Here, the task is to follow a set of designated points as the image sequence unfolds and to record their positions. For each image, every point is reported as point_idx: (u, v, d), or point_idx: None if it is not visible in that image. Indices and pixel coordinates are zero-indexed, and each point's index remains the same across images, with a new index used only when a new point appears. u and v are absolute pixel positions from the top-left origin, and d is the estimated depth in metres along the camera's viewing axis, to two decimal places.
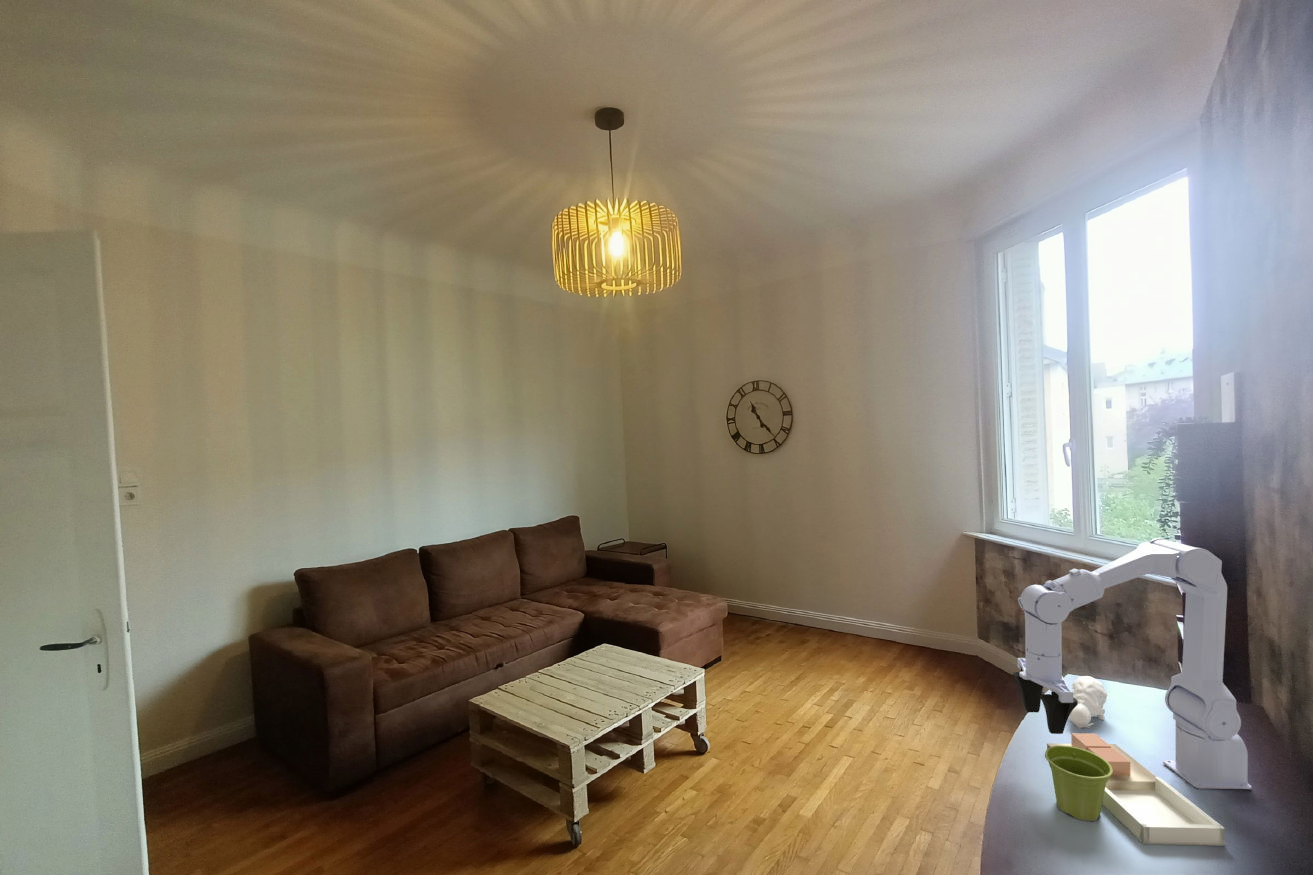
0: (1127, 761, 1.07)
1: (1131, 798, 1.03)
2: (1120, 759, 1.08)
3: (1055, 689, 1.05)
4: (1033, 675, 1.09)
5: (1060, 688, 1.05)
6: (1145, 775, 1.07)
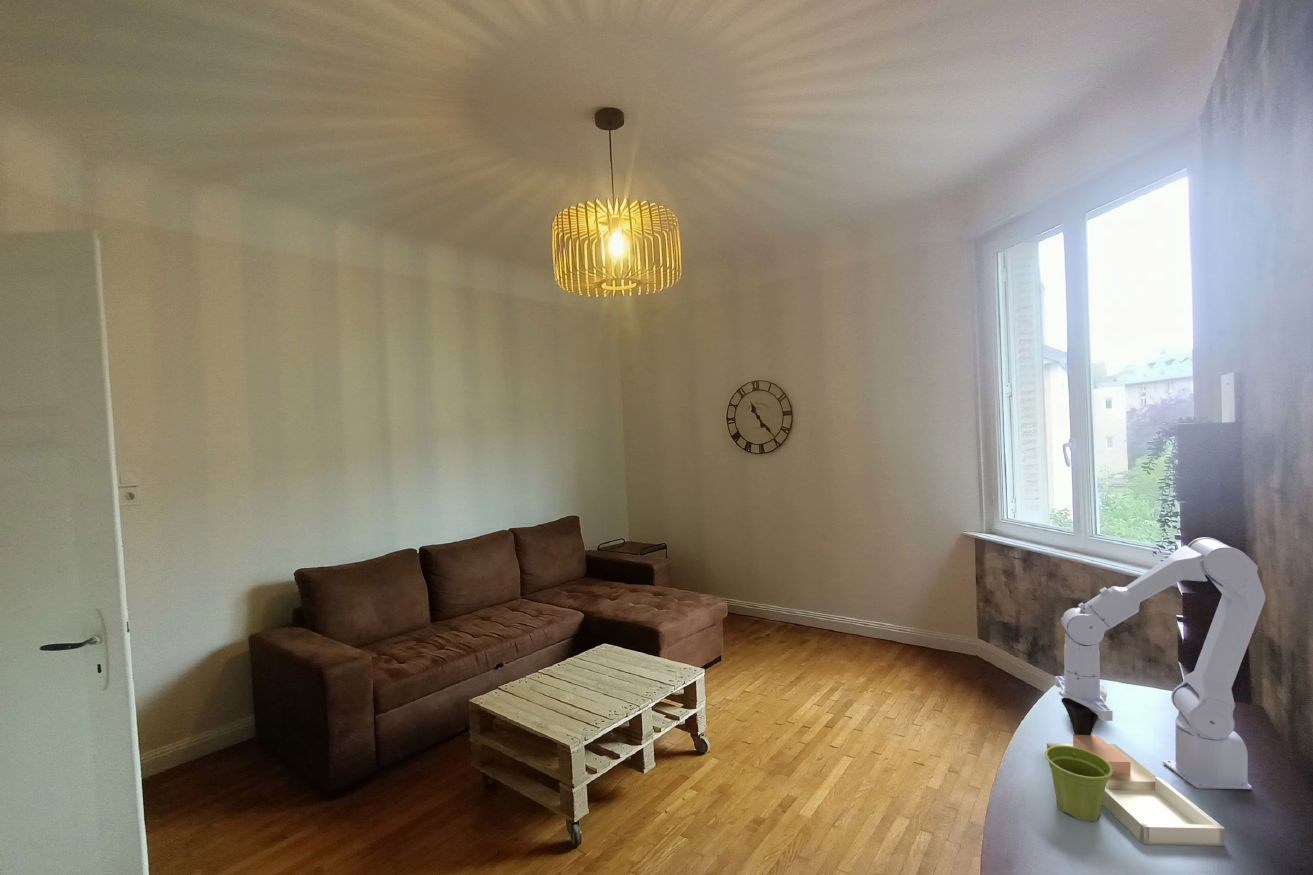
0: (1128, 761, 1.07)
1: (1131, 798, 1.03)
2: (1120, 759, 1.08)
3: (1095, 708, 1.11)
4: (1072, 694, 1.15)
5: (1099, 707, 1.11)
6: (1145, 775, 1.07)
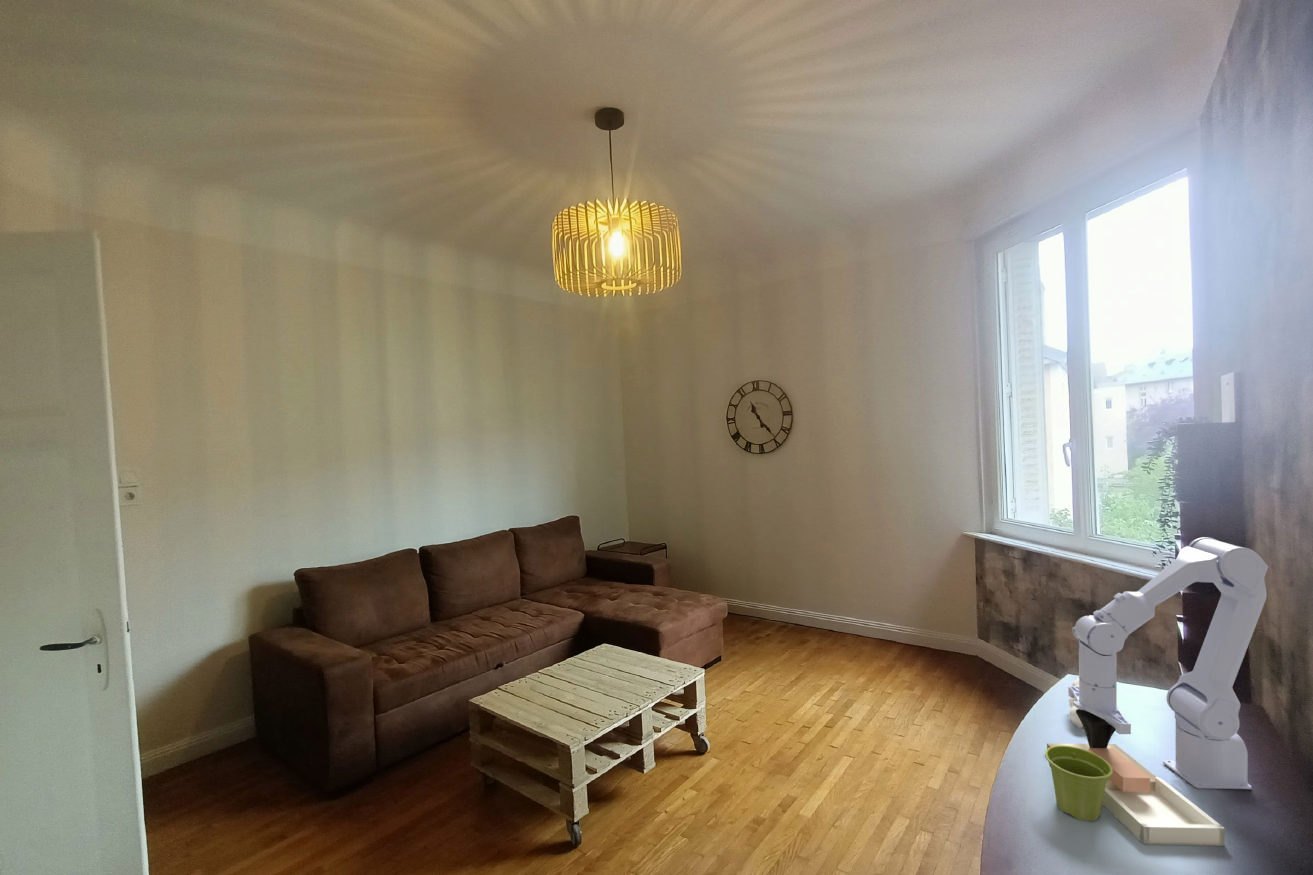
0: (1147, 777, 1.02)
1: (1131, 798, 1.03)
2: (1139, 774, 1.03)
3: (1112, 720, 1.06)
4: (1088, 705, 1.11)
5: (1117, 719, 1.06)
6: None
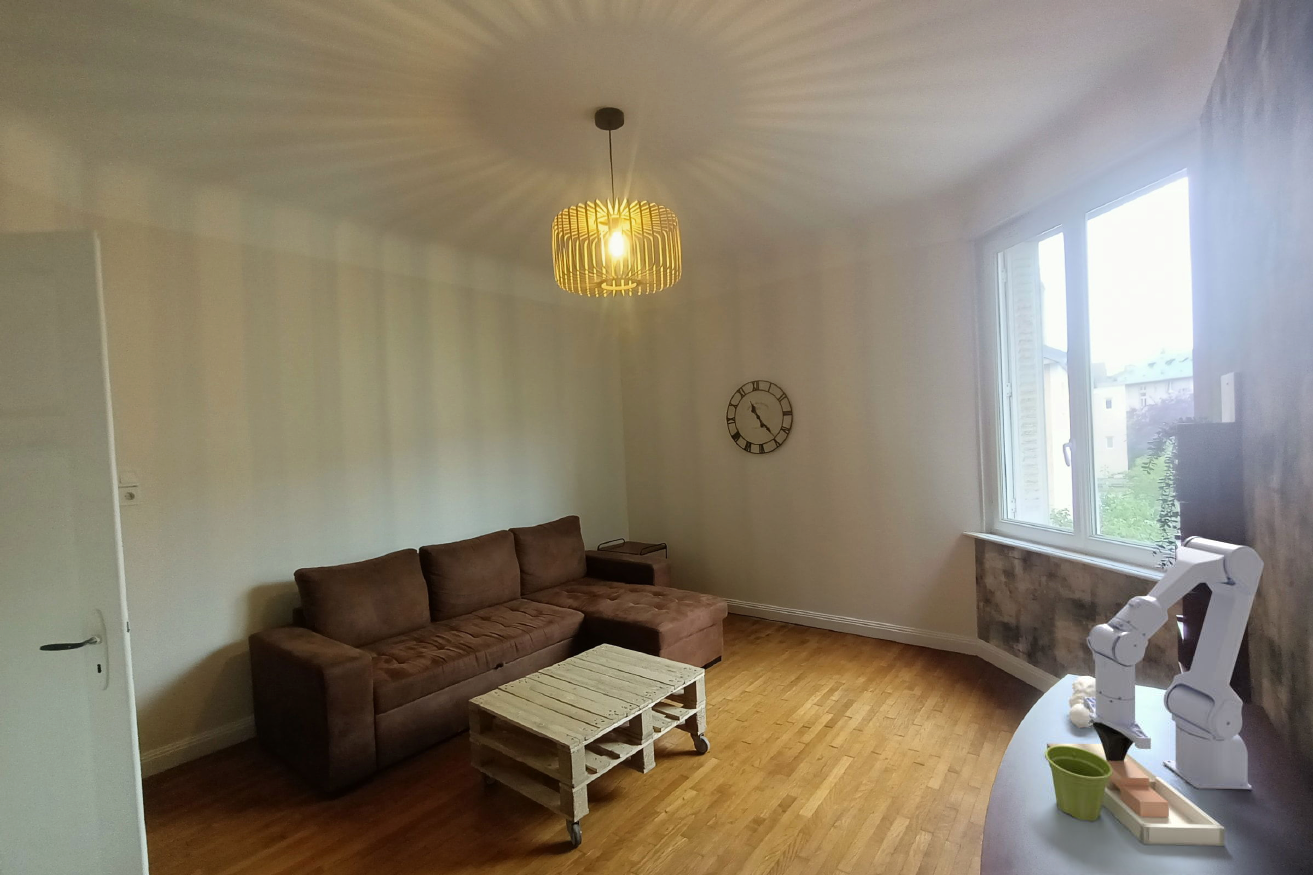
0: (1165, 801, 0.98)
1: None
2: (1157, 798, 0.99)
3: (1131, 734, 1.01)
4: (1105, 718, 1.06)
5: (1136, 733, 1.02)
6: None
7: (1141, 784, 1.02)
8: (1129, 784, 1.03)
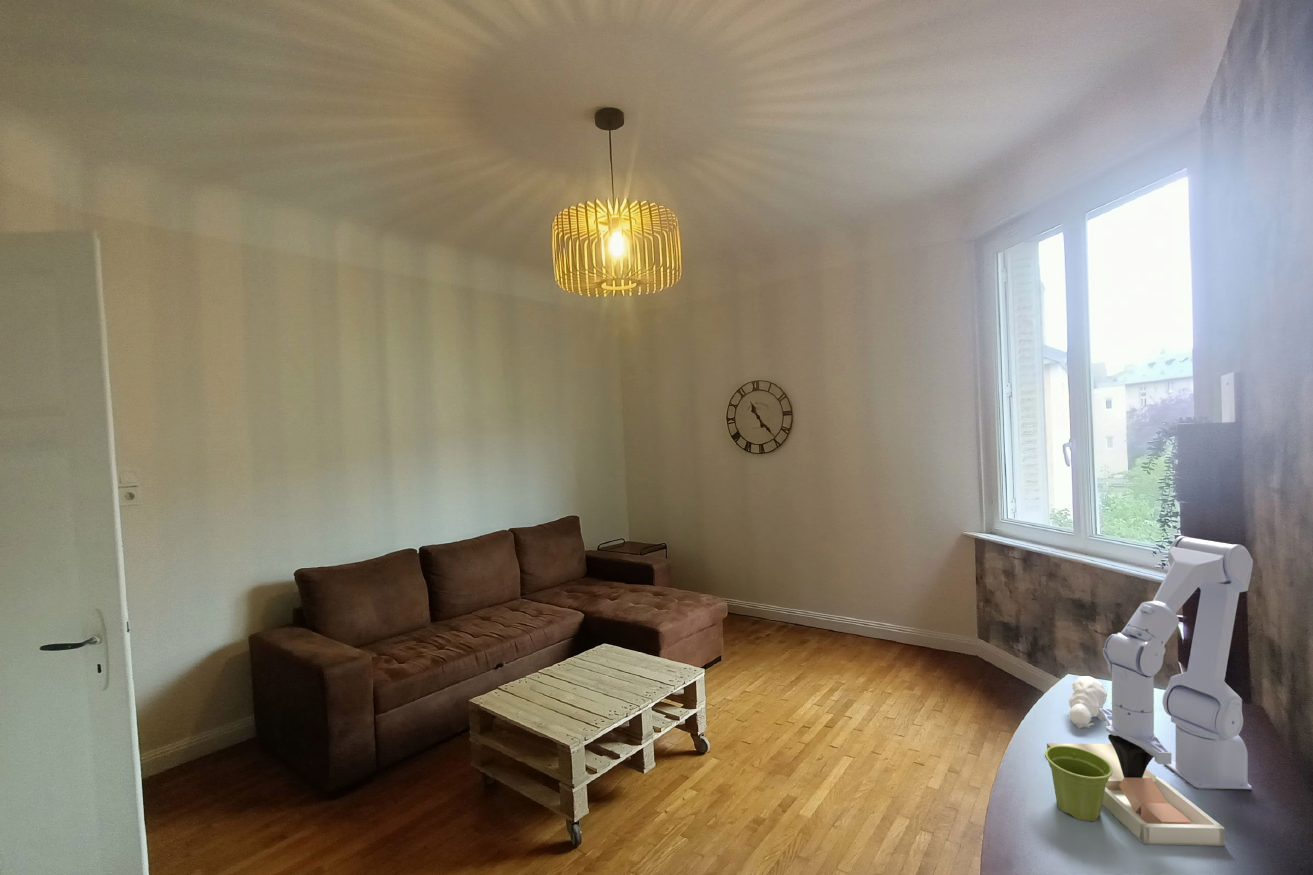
0: (1189, 821, 0.93)
1: None
2: (1179, 818, 0.94)
3: (1150, 749, 0.97)
4: (1122, 731, 1.02)
5: (1155, 747, 0.97)
6: (1145, 775, 1.07)
7: None
8: None
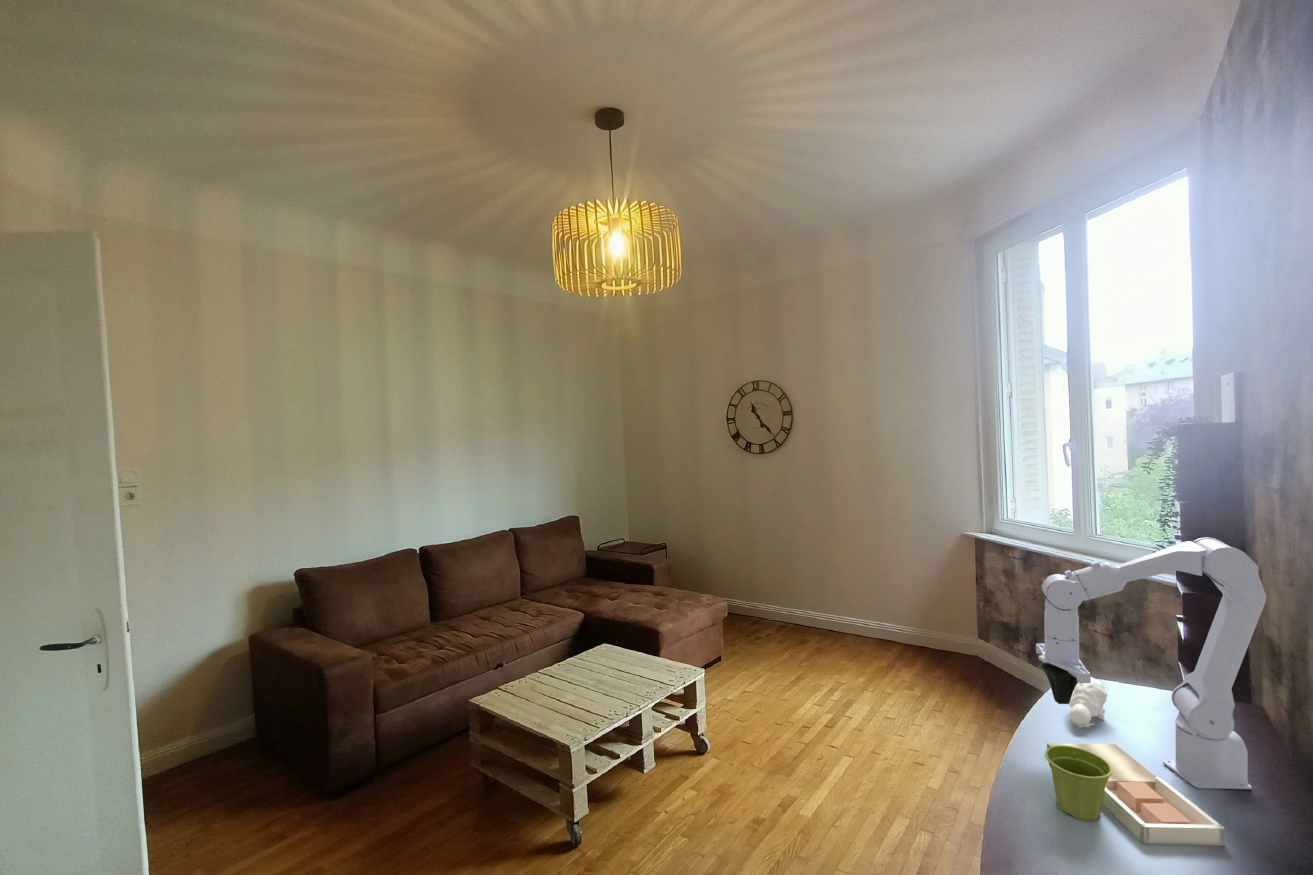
0: (1189, 821, 0.93)
1: None
2: (1179, 818, 0.94)
3: (1073, 671, 1.12)
4: (1052, 658, 1.17)
5: (1078, 670, 1.12)
6: (1145, 775, 1.07)
7: None
8: None
